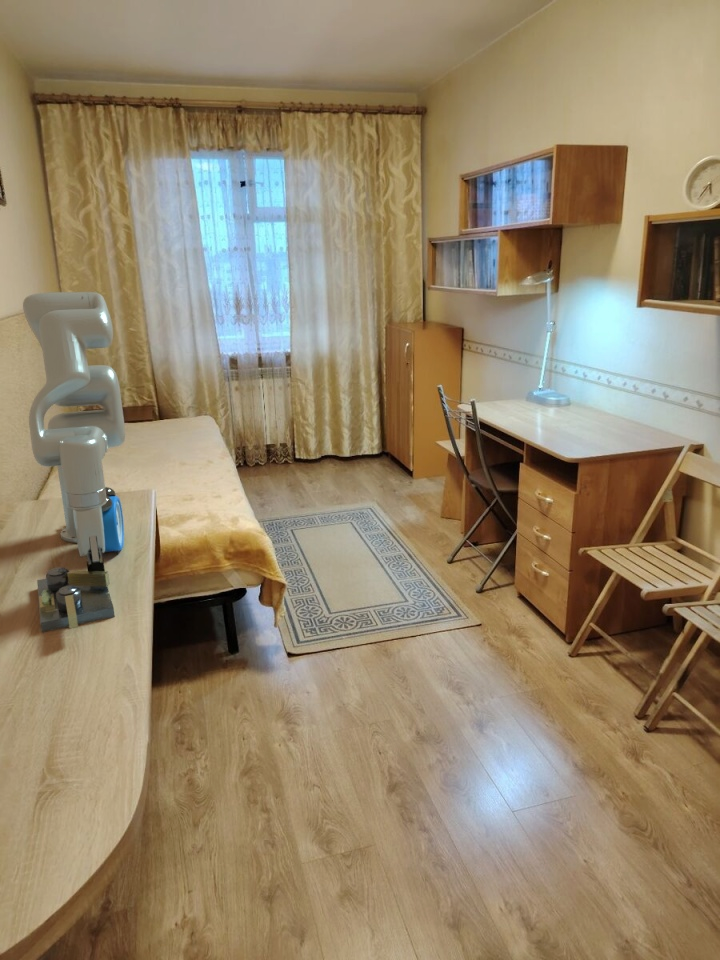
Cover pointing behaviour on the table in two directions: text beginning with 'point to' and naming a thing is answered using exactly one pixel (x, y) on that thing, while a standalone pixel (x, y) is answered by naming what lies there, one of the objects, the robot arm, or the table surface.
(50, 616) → the control panel
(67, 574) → the knob
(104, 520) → the alarm clock
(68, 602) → the knob
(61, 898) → the table surface
